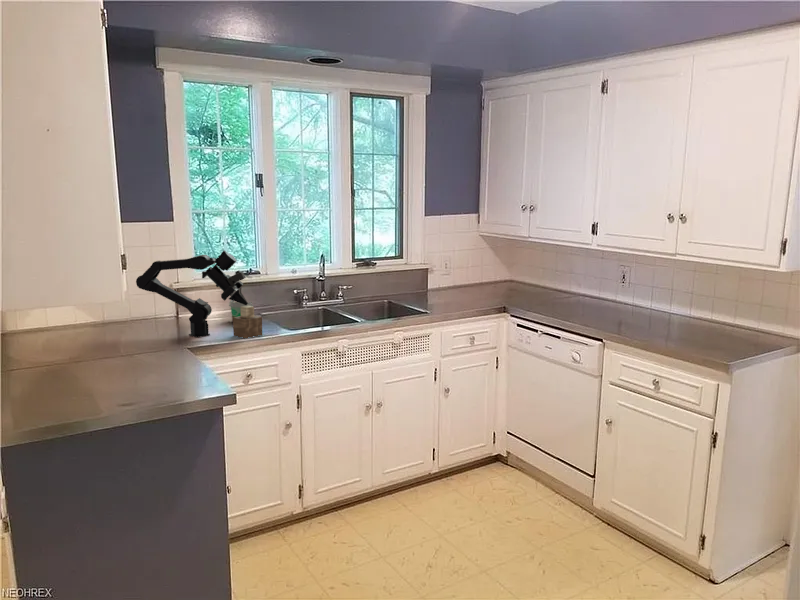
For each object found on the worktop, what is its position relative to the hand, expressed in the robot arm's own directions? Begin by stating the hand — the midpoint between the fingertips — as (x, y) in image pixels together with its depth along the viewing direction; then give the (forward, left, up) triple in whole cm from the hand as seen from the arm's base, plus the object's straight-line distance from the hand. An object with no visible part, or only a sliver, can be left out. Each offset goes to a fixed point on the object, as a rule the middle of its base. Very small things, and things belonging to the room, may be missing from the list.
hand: (247, 304), depth 261 cm
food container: (+13, +25, -14) cm, 31 cm away
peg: (0, 0, -9) cm, 9 cm away
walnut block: (0, 0, -14) cm, 14 cm away
